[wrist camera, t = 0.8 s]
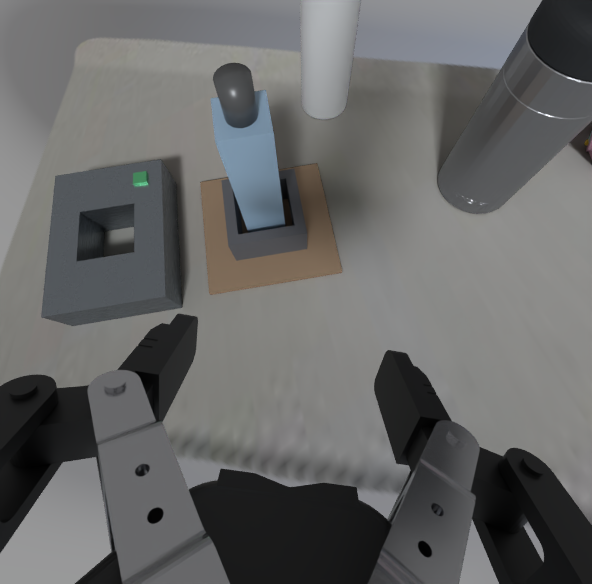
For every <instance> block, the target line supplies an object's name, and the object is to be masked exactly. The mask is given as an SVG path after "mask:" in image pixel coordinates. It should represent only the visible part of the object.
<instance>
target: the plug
mask: <svg viewBox="0 0 592 584" xmlns="http://www.w3.org/2000/svg"><path fill="white" fill-rule="evenodd" d="M213 81H214V85H215V88H216V91H217V95H218V97H216V98H211V105H212V115H213V124H214V134H215V142H216V145H217V148H218V151H219V153H220V156H221V159H222V161H223V164H224V167H225V170H226V172H227V175H228V178H229V181H230V183H231V186H232V189H233V192H234V194H235V197H236V200H237V202H238V205H239V208H240V211H241V213H242V216H243V219H244V222H245V224H246V227H247V230H248V233H251V232H257V231H263V230H269V229H275V228H281V227H285V219H284V211H283V203H282V195H281V187H280V179H279V172H278V164H277V156H276V148H275V140H274V132H273V127H272V122H271V116H270V111H269V105H268V100H267V94H266V90H262V91H255V92H254V87H253V81H252V75H251V71H250V70H249V68H248V67H246V66H245V65H243V64H240V63H229V64H225V65H223V66H221V67H220V68H218V69H217V70H216V72H215V73H214V76H213Z"/></svg>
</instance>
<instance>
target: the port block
mask: <svg viewBox="0 0 592 584" xmlns="http://www.w3.org/2000/svg"><path fill="white" fill-rule="evenodd" d="M128 227H134V252H132V253H126V254H120V255H114V256H107V257H103V249H104V231H109V230H115V229H121V228H128ZM177 308H182V294H181V274H180V254H179V234H178V214H177V194H176V182H175V181H174V179H173V177H172V176H171V174H170V173H169V171H168V170H167V168H166V166H165V165H164V163H163V162H162V160H161V159H160V160H153V161H147V162H141V163H134V164H128V165H122V166H115V167H109V168H103V169H96V170H90V171H84V172H77V173H71V174H65V175H58V176H55V186H54V196H53V206H52V216H51V226H50V235H49V245H48V255H47V265H46V275H45V285H44V295H43V305H42V314H41V317H42V318H46V319H49V320H53V321H57V322H60V323H64V324H67V325H71V326H76V325H82V324H88V323H94V322H100V321H106V320H112V319H118V318H124V317H129V316H135V315H141V314H147V313H153V312H159V311H165V310H171V309H177Z"/></svg>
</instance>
